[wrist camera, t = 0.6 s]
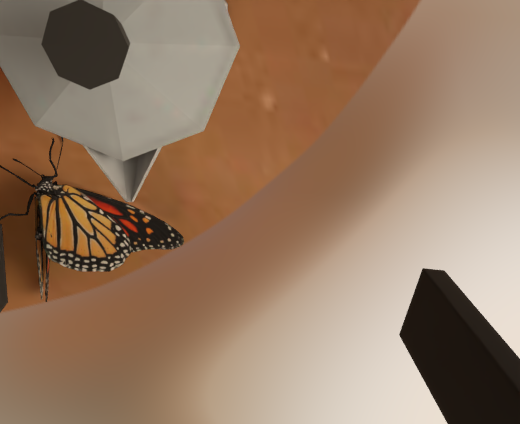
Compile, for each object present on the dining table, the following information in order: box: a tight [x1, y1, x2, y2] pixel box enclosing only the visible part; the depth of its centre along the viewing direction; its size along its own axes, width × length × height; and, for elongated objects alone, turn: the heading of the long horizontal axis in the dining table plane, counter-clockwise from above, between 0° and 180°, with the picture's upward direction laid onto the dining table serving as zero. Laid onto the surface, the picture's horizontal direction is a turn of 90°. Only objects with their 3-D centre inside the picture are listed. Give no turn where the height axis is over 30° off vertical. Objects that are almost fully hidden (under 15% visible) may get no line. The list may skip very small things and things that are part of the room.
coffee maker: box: [0, 0, 240, 202], centre depth 20 cm, size 15×9×18 cm, turn 177°
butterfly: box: [0, 136, 184, 302], centre depth 31 cm, size 12×10×10 cm
